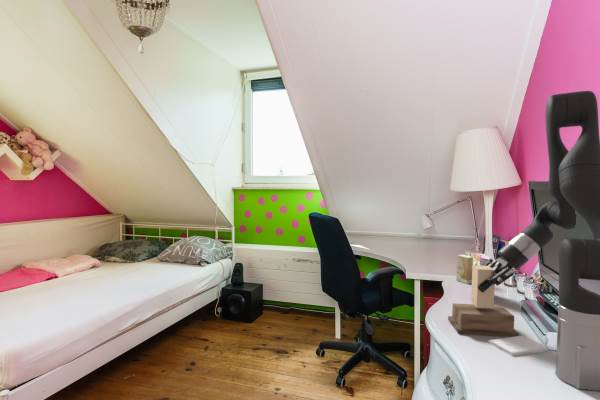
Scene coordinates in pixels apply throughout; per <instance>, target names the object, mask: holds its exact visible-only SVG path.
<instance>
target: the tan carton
mask: <svg viewBox="0 0 600 400" xmlns="http://www.w3.org/2000/svg"><path fill="white" fill-rule="evenodd" d="M492 271H493V268H491V267H488V266H472V283H471V298H470V299H471V300H470V301H471V304H474V305H475V306H476V307H477V308H494V305H495V289H496V287H495V286H496V284H495V285H491V286H490V287H489V288H488V289H487V290H486V291H484V292H481V291H480V290H479V289H478V286H479V285H480V284H481V283H482V282H483V281H485V280H487V278H488V277H489V276H490V275H491V272H492Z"/></svg>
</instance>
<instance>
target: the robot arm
mask: <svg viewBox="0 0 600 400" xmlns="http://www.w3.org/2000/svg"><path fill="white" fill-rule="evenodd" d="M545 104H546V106H545V131H546V132H545V133H546V143H547V144H546V145H547V153H548V165H549V166H548V168H549V171H548V193H549V195H550V196H551V197H552V198H554V199H553V200H550V201H547V202H545V203H544V204H543V205H542V206H541V207H540V209H539V211H538V212H537V214H535V217H534V218H533V220H532V221H531V223H530V224H529V225H528V226H526V227H525V228H524V229H523V230H522V231H521V232H520V233H518V234H517V235H515V236H514V237H513V238H511V239H510V240H508V242H507V243H506V244H505V245H503V246H502V247H500V249H499V250H498V251H497V254H498V255H499V256H498V258H496V259H493V258H491V259H489V260H488V261H487V262H486V263H485V264H484V265H483V266H488V267H491V268H493V271H492V272H491V275H490V276H489V277H488V278H487V280H485V281H483V282H482V283H481V284H480V285H479V286H478V289H479V290H480V291H481V292H484V291H486V290H487V289H488V288H489V287H490V286H491V285H495V286H500V285H501V284H503V283H504V282H505V281H507V280H508V279H510V278H511V277H513V276H514V275H515V274H514V272H513V271H512V269H514V270H519V269H521V268H522V267H524V265H526V264H527V263H528V262H529V261H530V260H531V259H532V258H533V257H534V256H536V255H537V254H538V253H539V251H540V250H541V249H543V248H544V247H545V246H546V245H547V244H548V243H549V242H551V241H552V240H553V238H554V232H552V230H551V229H550V227H551V225H552V224H553V225H556V226H558V227H560V228H562V229H564V230H573V229H575V228H576V227H575V225H576V214H575V210H576V211H577V212H578V213H579V214H580V215H581V216H582V219H583V220H585V222H586V224H587V225H588V226H589V229H590V231H591V234H592V236H593V239H592V238H591V239H590V238H589V239H588V238H574V237H572V238H571V237H569V238H568V237H567V238H564V239H563V240H562V241H561V242H560V245H559V248H558V312H557V328H556V329H557V331H556V332H557V333H556V351H555V352H556V353H555V375H556V377H557V378H558V379H560V380H561V381H563V382H564V383H567V384H569V385H570V386H573V387H574V388H575V389H577V390H585V389H588V390H589V391H598V390H600V294H599V293H597V292H594V291H591V290H588V289H586V288H585V287H583V286H581V285H580V280H589V281H590V280H592V281H600V125H599V110H598V109H599V107H598V106H599V105H598V100H597V96H596V94H595V92H593V91H592V90H582V91H580V90H579V91H574V92H573V91H572V92H571V91H570V92H565V93H557V94H552V95H550V96H549V97H548V99H547V100H546V103H545ZM570 127H571V128H572V127H573V128H574V127H581V133H580V135H579V136H578V138H577V140H576V142H575V143H574V144H573V146H572V147H571V148H570V150H568V148H567V146H566V145H565V144H564V142H563V141H562V140H563V139H562V138H561V132H560V130H561V128H570ZM470 284H472V282H471V283H470ZM588 390H587V391H588Z"/></svg>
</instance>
